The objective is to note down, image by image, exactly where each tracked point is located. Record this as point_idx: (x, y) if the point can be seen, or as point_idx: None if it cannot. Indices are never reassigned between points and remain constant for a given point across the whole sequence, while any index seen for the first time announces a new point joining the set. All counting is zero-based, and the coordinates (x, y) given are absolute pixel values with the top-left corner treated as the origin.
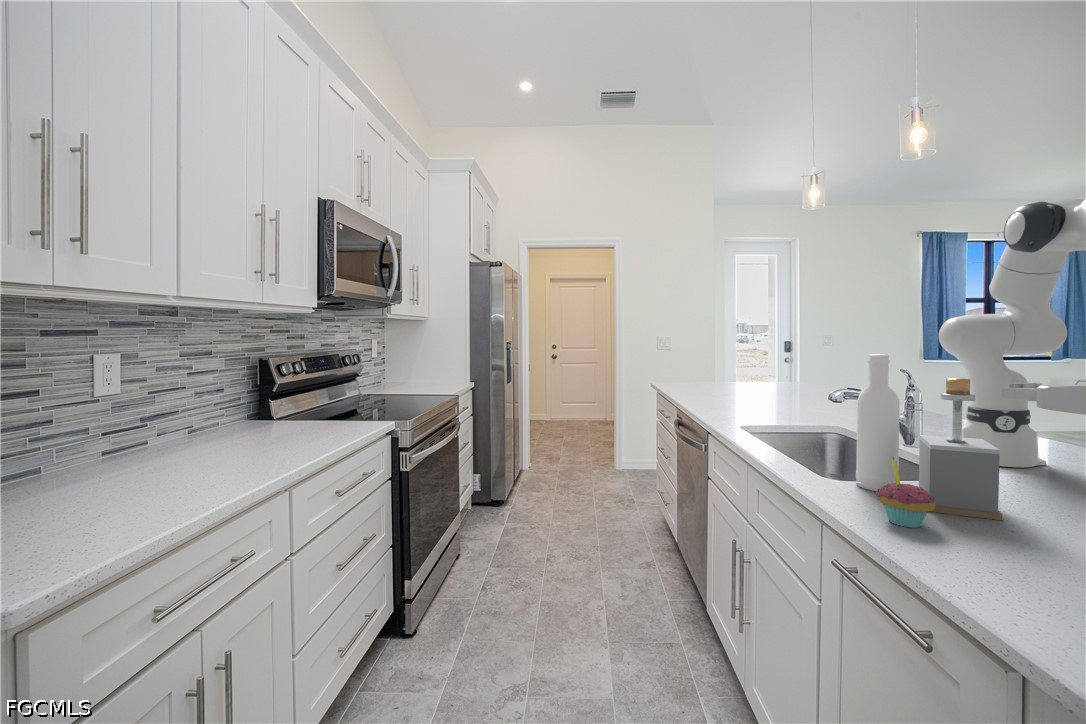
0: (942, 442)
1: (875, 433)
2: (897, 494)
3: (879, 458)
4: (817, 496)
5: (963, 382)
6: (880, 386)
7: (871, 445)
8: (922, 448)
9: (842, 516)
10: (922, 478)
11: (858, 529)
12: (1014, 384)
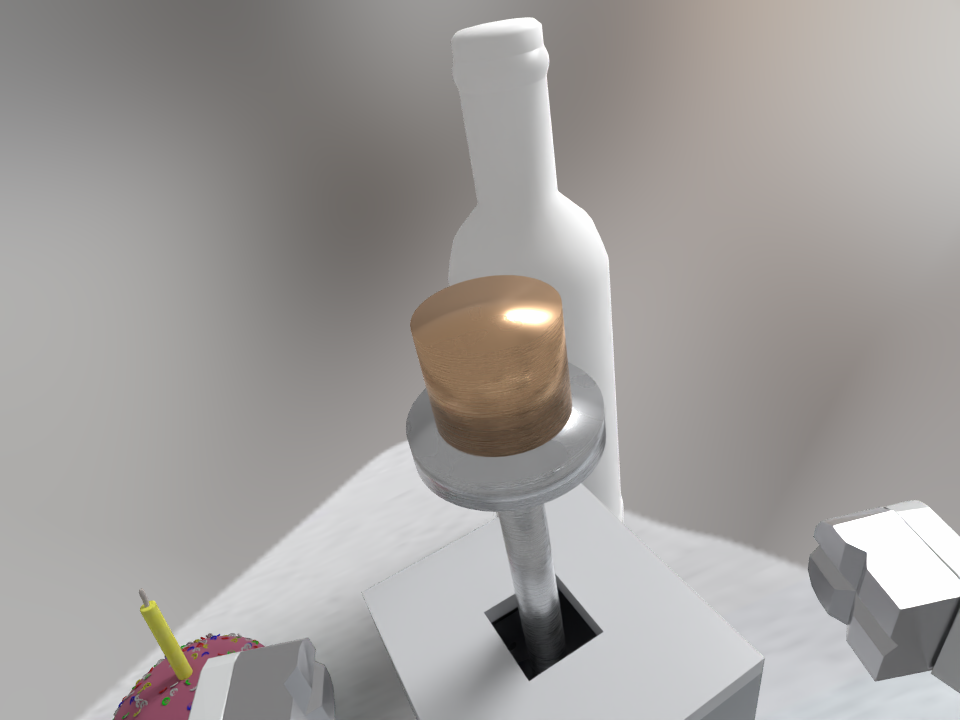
0: (464, 594)
1: None
2: (116, 715)
3: None
4: (329, 516)
5: (429, 366)
6: (484, 212)
7: None
8: None
9: (187, 635)
10: None
11: (89, 716)
12: (846, 552)
